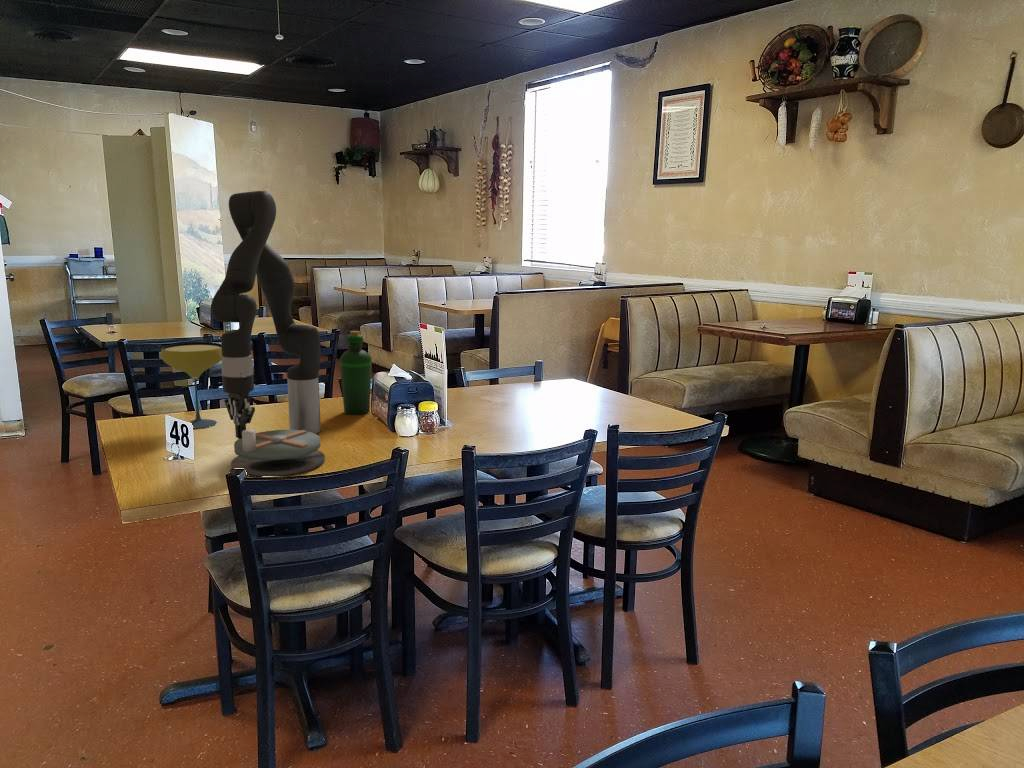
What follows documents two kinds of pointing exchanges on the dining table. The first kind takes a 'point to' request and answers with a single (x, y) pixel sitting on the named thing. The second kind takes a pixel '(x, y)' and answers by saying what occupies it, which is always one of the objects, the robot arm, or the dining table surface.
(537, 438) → the dining table surface
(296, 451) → the handwheel
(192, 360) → the cocktail glass
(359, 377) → the bottle
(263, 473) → the base
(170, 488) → the dining table surface
